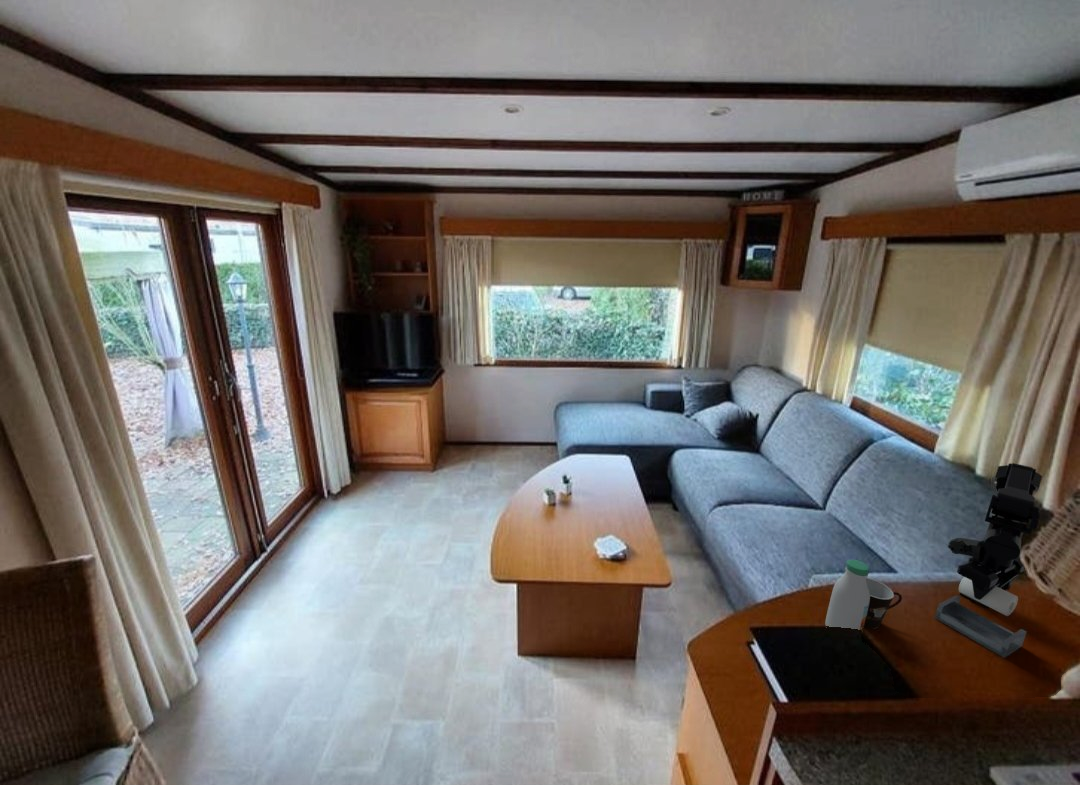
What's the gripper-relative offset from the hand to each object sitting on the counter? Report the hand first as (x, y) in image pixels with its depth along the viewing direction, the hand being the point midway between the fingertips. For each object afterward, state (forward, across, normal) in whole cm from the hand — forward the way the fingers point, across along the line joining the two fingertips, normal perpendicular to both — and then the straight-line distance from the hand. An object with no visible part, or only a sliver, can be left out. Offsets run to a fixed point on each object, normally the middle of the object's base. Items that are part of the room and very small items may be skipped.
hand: (983, 595), depth 110 cm
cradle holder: (+11, 0, +1) cm, 11 cm away
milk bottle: (+11, +33, -12) cm, 37 cm away
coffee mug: (+11, +22, -12) cm, 27 cm away
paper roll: (+2, 0, +1) cm, 2 cm away
